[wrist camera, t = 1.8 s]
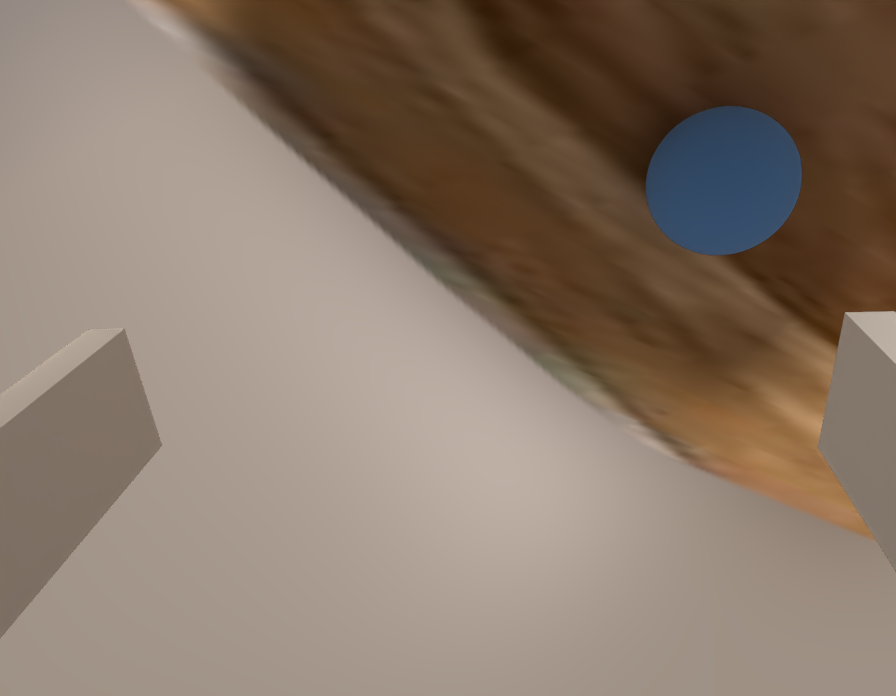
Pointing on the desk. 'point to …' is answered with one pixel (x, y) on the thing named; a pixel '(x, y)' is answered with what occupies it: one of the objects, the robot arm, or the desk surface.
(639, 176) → the desk surface
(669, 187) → the ball
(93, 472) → the robot arm
